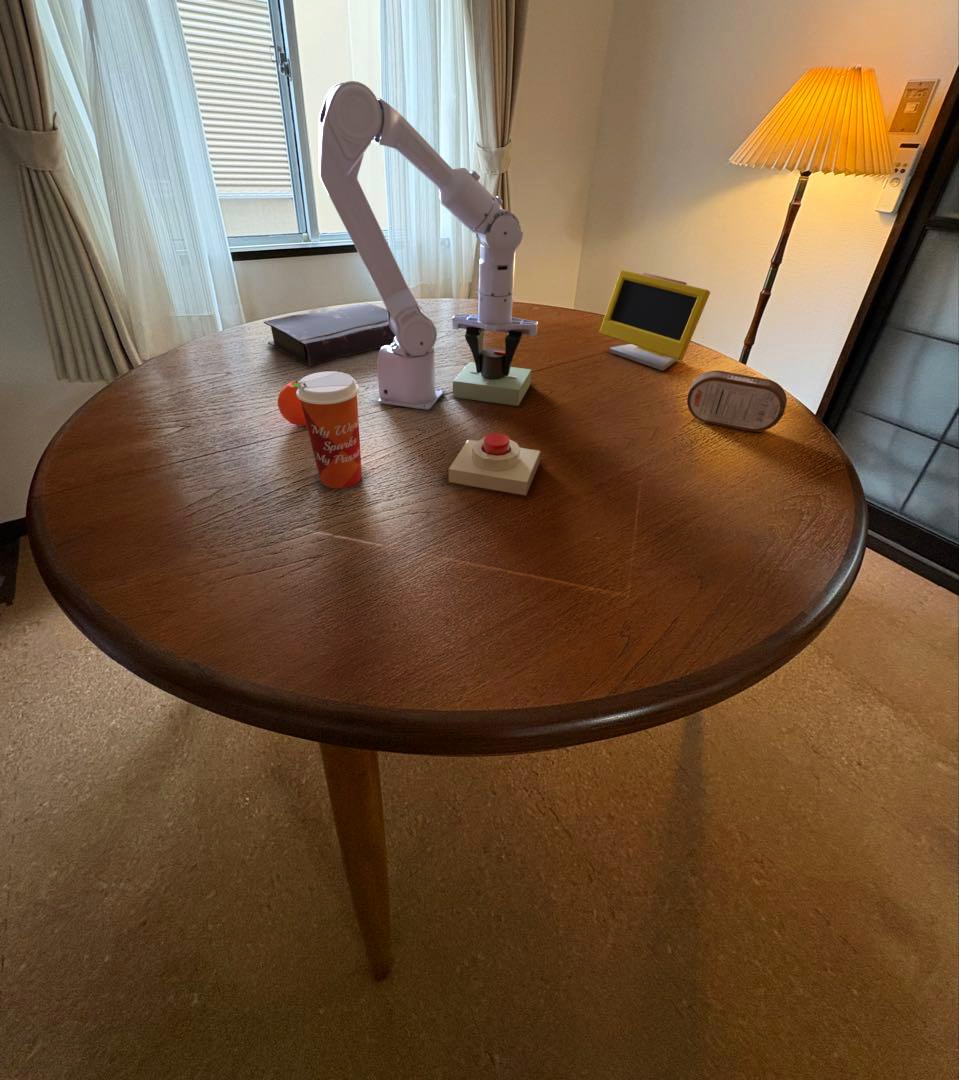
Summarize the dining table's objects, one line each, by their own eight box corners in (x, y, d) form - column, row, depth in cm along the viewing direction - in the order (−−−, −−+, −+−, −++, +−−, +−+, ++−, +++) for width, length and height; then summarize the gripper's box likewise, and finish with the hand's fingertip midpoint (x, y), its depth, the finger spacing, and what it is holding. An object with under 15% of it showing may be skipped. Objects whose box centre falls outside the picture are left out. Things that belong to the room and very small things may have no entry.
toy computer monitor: (596, 349, 122) (607, 270, 112) (618, 341, 126) (632, 265, 116) (674, 376, 110) (695, 291, 100) (697, 367, 114) (718, 285, 105)
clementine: (338, 425, 91) (332, 383, 86) (301, 440, 86) (293, 396, 82) (310, 410, 95) (303, 369, 90) (273, 423, 91) (264, 381, 86)
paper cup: (321, 498, 74) (302, 398, 65) (306, 471, 79) (288, 375, 71) (377, 484, 77) (367, 386, 68) (360, 459, 82) (348, 365, 74)
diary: (412, 342, 123) (411, 318, 120) (310, 369, 109) (306, 343, 106) (364, 322, 134) (362, 299, 131) (266, 344, 120) (261, 320, 117)
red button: (480, 454, 77) (480, 443, 76) (487, 442, 79) (487, 431, 78) (505, 458, 76) (506, 447, 75) (511, 446, 79) (512, 435, 78)
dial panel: (452, 397, 100) (452, 380, 98) (469, 376, 108) (469, 360, 106) (518, 406, 98) (519, 388, 96) (530, 384, 105) (531, 368, 104)
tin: (776, 430, 92) (794, 381, 87) (775, 438, 90) (794, 388, 85) (682, 412, 97) (695, 364, 92) (679, 419, 95) (692, 371, 90)
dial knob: (477, 377, 100) (478, 353, 97) (484, 368, 103) (485, 345, 101) (501, 380, 99) (502, 356, 96) (507, 371, 102) (509, 348, 100)
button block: (448, 482, 78) (448, 457, 75) (467, 452, 84) (467, 428, 82) (525, 495, 75) (528, 470, 73) (539, 463, 82) (541, 439, 80)
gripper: (447, 294, 90) (448, 376, 99) (536, 302, 88) (529, 384, 96) (457, 284, 96) (458, 362, 104) (542, 290, 94) (535, 370, 102)
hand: (493, 372), depth 101 cm, fingers closed on dial knob, 4 cm apart
